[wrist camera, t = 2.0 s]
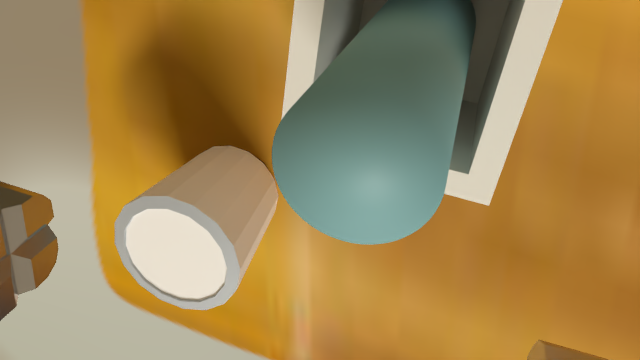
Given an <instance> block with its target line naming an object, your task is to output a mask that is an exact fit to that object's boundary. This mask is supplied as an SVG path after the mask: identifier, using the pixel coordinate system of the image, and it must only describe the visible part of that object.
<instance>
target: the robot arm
mask: <svg viewBox="0 0 640 360" xmlns="http://www.w3.org/2000/svg"><path fill="white" fill-rule="evenodd" d="M53 217H54V215H53V209H52V203H51V200H50V199H48V198H47V197H45V196H44V195H41V194H38V193H35V192H32V191H29V190H26V189H23V188H20V187H16V186H13V185H10V184H7V183H4V182H1V181H0V320H1V319H3V318H4V317H5V316H6V315H7V314H8V313H9V312H10V311H11V310H13V309H14V308H15V307H16V306H17V299H18V295H19V294H22V293H25V292H27V291H30V290H33V289H36V288H37V287H38V286H39V285H40V284H41V283H42V282H43V281H44V280H45V279H46V278H47V277H48V276H49V274H50V272H51V270H52V268H53V267H54V265H55V263H56V259H57V253H58V243H57V237H56V236H55V234H54V233H53V232H52V230H51V229H50V227H49V226H48V224H49V222H50V221H51V220H52V219H53ZM527 360H608V359H605V358H602V357H598V356H595V355H591V354H588V353H584V352H581V351H577V350H574V349H570V348H567V347H563V346H560V345H556V344H552V343H549V342H545V341H542V340H538V341H537V342H536V343H535V344H534V345H533V347H532V349H531V351H530V353H529V355H528V357H527Z"/></svg>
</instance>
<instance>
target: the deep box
mask: <svg viewBox="0 0 640 360" xmlns="http://www.w3.org/2000/svg"><path fill="white" fill-rule="evenodd" d="M387 1H388V0H295V3H294V12H293V21H292V30H291V39H290V48H289V57H288V66H287V75H286V84H285V94H284V103H283V112H282V118H283V117H284V116H285V114H286V113H287V112H288V110H289V109H290V108H291V107H292V106H293V105H294V104H295V103H296V102H297V100H298V99H299V98H300V97H301V96H302V95H303V94H304V93H305V92H306V90H307V89H308V88H309V87H310V86H311V85H312V84H313V83H314V82H315V81H316V79H317V78H318V77H319V76H320V75H321V74H322V73H323V72H324V71H325V69H326V68H327V67H328V66H329V65H330V64H331V63H332V62H333V61H334V60H335V58H336V57H337V56H338V55H339V54H340V53H341V52H342V51H343V50H344V49H345V47H346V46H347V45H348V44H349V43H350V42H351V41H352V40H353V39H354V37H355V36H356V35H357V34H358V33H359V32H360V31H361V30H362V29H363V28H364V26H365V25H366V24H367V23H368V22H369V21H370V20H371V19H372V18H373V17H374V15H375V14H376V13H377V12H378V11H379V10H380V9H381V8H382V7H383V5H384V4H385V3H386V2H387ZM562 1H563V0H471V2H472V4H473V7H474V10H475V15H476V28H475V34H474V39H473V44H472V50H471V55H470V60H469V66H468V71H467V76H466V82H465V87H464V92H463V98H462V103H461V108H460V113H459V119H458V124H457V129H456V135H455V140H454V145H453V151H452V156H451V161H450V167H449V172H448V177H447V183H446V187H445V192H444V194H447V195H451V196H455V197H459V198H462V199H466V200H470V201H473V202H477V203H481V204H485V205H488V206H489V204H490V201H491V198H492V196H493V193H494V190H495V187H496V185H497V182H498V179H499V176H500V174H501V171H502V168H503V165H504V162H505V160H506V157H507V154H508V151H509V149H510V146H511V143H512V140H513V137H514V135H515V132H516V129H517V126H518V124H519V121H520V118H521V115H522V112H523V110H524V107H525V104H526V101H527V99H528V96H529V93H530V90H531V87H532V85H533V82H534V79H535V76H536V74H537V71H538V68H539V65H540V62H541V60H542V57H543V54H544V51H545V49H546V46H547V43H548V40H549V37H550V35H551V32H552V29H553V26H554V24H555V21H556V18H557V15H558V12H559V10H560V7H561V4H562Z"/></svg>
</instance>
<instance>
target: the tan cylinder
mask: <svg viewBox="0 0 640 360" xmlns="http://www.w3.org/2000/svg"><path fill="white" fill-rule="evenodd" d="M277 200H278V193H277V188H276V184H275V180H274V178H273V176H272V175H271V173H270V172H269V170H268V169H267V167H266V166H265V164H264V163H262V162H261V161H260V160H259V159H257V158H256V157H255V156H253V155H252V154H251V153H250V152H248V151H245V150H242V149H239V148H236V147H233V146H214V147H212V148H210V149H208V150H206V151H204V152H202V153H200V154H199V155H198V156H196V157H195V158H193V159H192V160H190V161H189V162H187V163H186V164H184V165H183V166H182V167H180V168H179V169H177V170H176V171H174V172H173V173H171V174H170V175H169V176H167V177H166V178H164V179H163V180H161V181H160V182H158V183H157V184H155V185H154V186H153V187H151V188H150V189H148V190H147V191H145V192H144V193H142V194H141V195H139V196H138V197H137V198H135V199H134V200H132V201H131V202H129V203H128V204H126V205H125V206H124V208H123V209H122V211H121V213H120V215H119V216H118V218H117V220H116V221H115V245H116V247H117V250H118V252H119V255H120V257H121V260H122V262H123V265H124V266H125V267H126V268H127V270H128V271H129V272H130V273H131V275H132V276H133V277H134V278H135V280H136V281H137V282H138V283H139V284H140V285H141V286H142V287H144V288H145V289H146V290H148V291H149V292H151V293H152V294H153V295H155V296H156V297H157V298H159V299H160V300H163V301H165V302H168V303H170V304H173V305H175V306H178V307H181V308H183V309H197V310H207V309H210V308H213V307H216V306H219V305H222V304H225V302H226V301H227V300H228V299H229V298H230V297H231V296H232V295H233V293H234V292H235V291H236V290H237V288H238V286H239V284H240V282H241V280H242V278H243V276H244V274H245V272H246V270H247V268H248V266H249V264H250V262H251V260H252V257H253V255H254V253H255V251H256V249H257V247H258V245H259V243H260V241H261V239H262V237H263V235H264V233H265V231H266V229H267V227H268V225H269V223H270V221H271V219H272V216H273V214H274V212H275V210H276V205H277Z"/></svg>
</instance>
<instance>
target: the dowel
mask: <svg viewBox="0 0 640 360" xmlns="http://www.w3.org/2000/svg"><path fill="white" fill-rule="evenodd" d="M475 28H476V15H475V10H474V7H473V4H472V2H471V0H388V1H387V2H386V3H385V4H384V5H383V7H382V8H381V9H380V10H379V11H378V12H377V13H376V14H375V15H374V17H373V18H372V19H371V20H370V21H369V22H368V23H367V24H366V25H365V26H364V28H363V29H362V30H361V31H360V32H359V33H358V34H357V35H356V36H355V37H354V39H353V40H352V41H351V42H350V43H349V44H348V45H347V46H346V47H345V49H344V50H343V51H342V52H341V53H340V54H339V55H338V56H337V57H336V58H335V60H334V61H333V62H332V63H331V64H330V65H329V66H328V67H327V68H326V69H325V71H324V72H323V73H322V74H321V75H320V76H319V77H318V78H317V79H316V81H315V82H314V83H313V84H312V85H311V86H310V87H309V88H308V89H307V90H306V92H305V93H304V94H303V95H302V96H301V97H300V98H299V99H298V100H297V102H296V103H295V104H294V105H293V106H292V107H291V108H290V109H289V110H288V112H287V113H286V114H285V116H284V117H283V118H282V120H281V122H280V124H279V126H278V128H277V130H276V133H275V136H274V141H273V146H272V164H273V170H274V175H275V178H276V181H277V184H278V186H279V188H280V190H281V192H282V194H283V196H284V198H285V199H286V201H287V202H288V204H289V205H290V206H291V207H292V209H293V210H294V211H295V212H296V213H297V214H298V215H299V216H300V217H301V218H302V219H303V220H304V221H306V222H307V223H308V224H310V225H311V226H312V227H314V228H315V229H317V230H319V231H320V232H322V233H324V234H326V235H329V236H331V237H333V238H336V239H339V240H342V241H346V242H350V243H357V244H382V243H388V242H392V241H396V240H399V239H401V238H404V237H406V236H408V235H410V234H412V233H414V232H415V231H416V230H418V229H419V228H421V227H422V226H423V225H424V224H425V223H426V222H427V221H428V220H429V219H430V218H431V217H432V216H433V214H434V213H435V212H436V210H437V208H438V207H439V205H440V203H441V200H442V198H443V195H444V192H445V187H446V183H447V177H448V172H449V167H450V161H451V156H452V151H453V145H454V140H455V135H456V129H457V124H458V119H459V113H460V108H461V103H462V98H463V92H464V87H465V82H466V76H467V71H468V66H469V60H470V55H471V50H472V44H473V39H474V34H475Z"/></svg>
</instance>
